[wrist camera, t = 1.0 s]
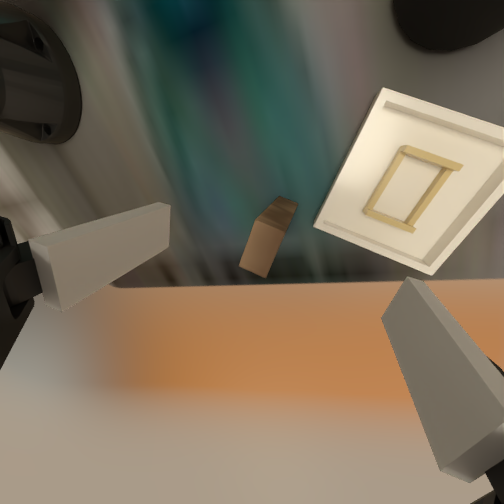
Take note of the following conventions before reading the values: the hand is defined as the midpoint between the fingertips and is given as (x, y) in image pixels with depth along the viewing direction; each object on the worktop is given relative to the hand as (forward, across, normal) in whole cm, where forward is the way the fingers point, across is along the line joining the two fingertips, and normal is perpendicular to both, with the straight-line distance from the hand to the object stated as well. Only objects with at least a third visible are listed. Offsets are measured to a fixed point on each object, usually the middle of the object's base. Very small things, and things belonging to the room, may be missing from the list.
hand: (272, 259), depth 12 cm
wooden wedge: (+18, -2, -2) cm, 18 cm away
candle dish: (+18, +10, +4) cm, 21 cm away
